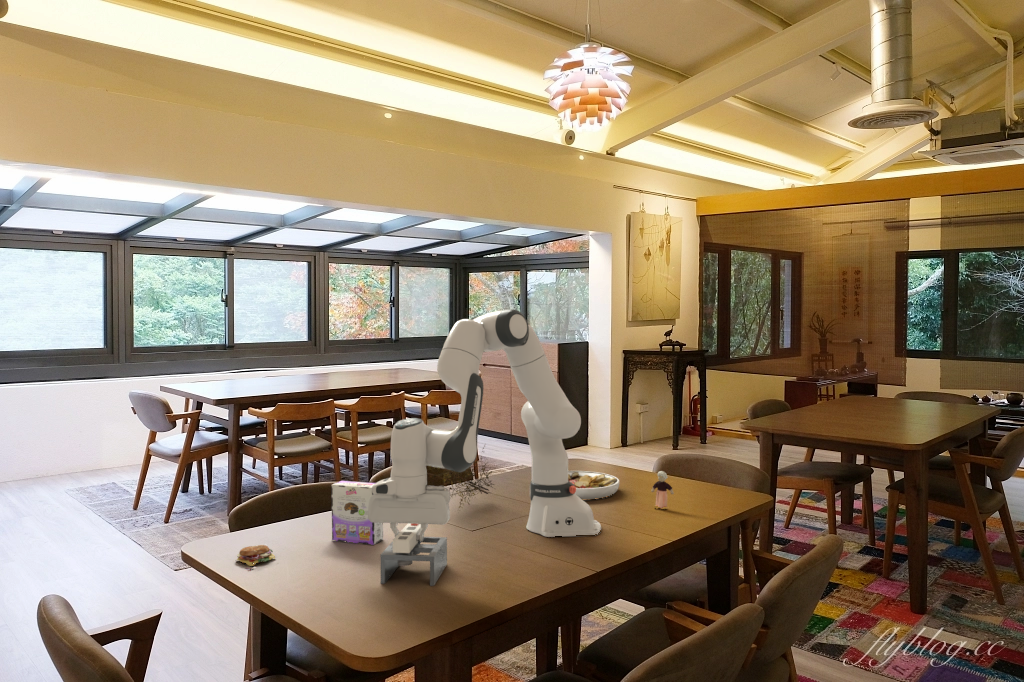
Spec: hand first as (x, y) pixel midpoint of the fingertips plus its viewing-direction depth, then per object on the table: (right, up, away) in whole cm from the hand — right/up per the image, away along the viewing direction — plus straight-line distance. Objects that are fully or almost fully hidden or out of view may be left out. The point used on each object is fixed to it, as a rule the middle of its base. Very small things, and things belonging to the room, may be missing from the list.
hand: (409, 540), depth 176 cm
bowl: (+50, -7, +85) cm, 99 cm away
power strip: (0, -4, 0) cm, 4 cm away
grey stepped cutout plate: (+1, -8, 0) cm, 8 cm away
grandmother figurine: (+76, -7, +61) cm, 97 cm away
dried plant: (+8, -7, +53) cm, 54 cm away
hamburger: (-41, -9, +8) cm, 43 cm away
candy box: (-19, -8, +27) cm, 34 cm away
